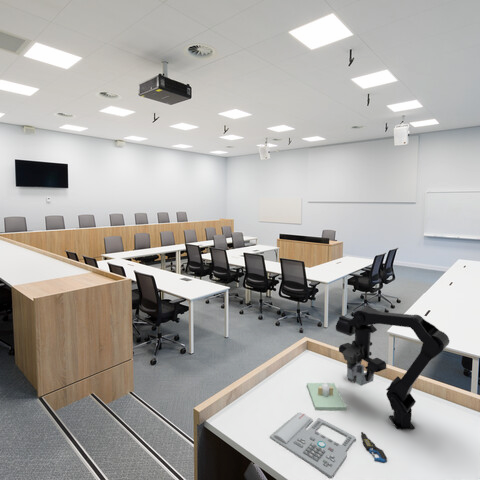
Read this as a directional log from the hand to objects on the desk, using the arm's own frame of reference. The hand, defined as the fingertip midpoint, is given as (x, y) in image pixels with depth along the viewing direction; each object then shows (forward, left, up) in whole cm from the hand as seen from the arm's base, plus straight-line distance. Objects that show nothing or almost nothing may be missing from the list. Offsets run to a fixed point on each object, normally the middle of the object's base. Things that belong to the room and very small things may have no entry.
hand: (360, 376), depth 127 cm
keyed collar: (0, 0, -1) cm, 1 cm away
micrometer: (-24, +4, -12) cm, 27 cm away
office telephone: (-20, +23, -12) cm, 33 cm away
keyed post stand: (+3, +13, -11) cm, 17 cm away
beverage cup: (+16, -3, -11) cm, 20 cm away
